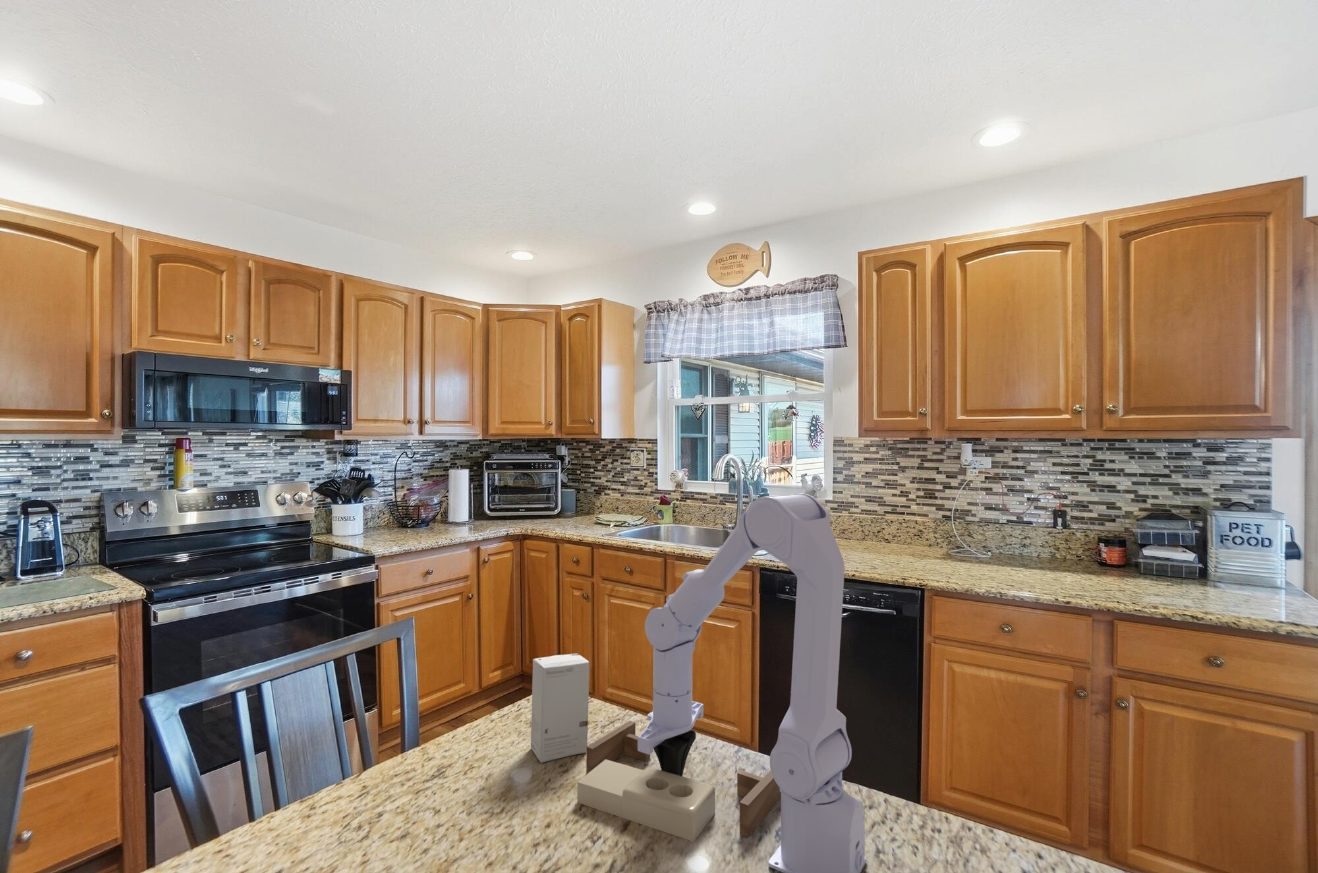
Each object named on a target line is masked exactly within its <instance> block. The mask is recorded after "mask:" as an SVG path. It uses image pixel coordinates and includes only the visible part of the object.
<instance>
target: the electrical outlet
mask: <svg viewBox="0 0 1318 873" xmlns="http://www.w3.org/2000/svg"><path fill="white" fill-rule="evenodd" d="M576 787H577V791H576V792H577V797H576V798H577V799H576V800H577V802H576V803H578V804H581V805H584V806H586V807H590V808H593V809H594V810H595V809H596V810H597V811H598V810H599V811H602V812H604V813H608V814H611V815H614V816H617V817H620V818H622V819H626V820H629V821H632V822H635V823H637V824H641V825H644V826H645V827H648V828H653V829H655V830H658V831H661V832H663V833H667V834H670V835H673V836H675V837H679V838H681V839H685V840H688V841H690V842H694V841H696V840H697V838H698V836H700V834H701V833H702V832H703V830H704V828H706V826H707V825H708V824H709V822H710V820H712V819H713V817H714V816H715V814H716V788H715V786H714V785H713V784H710V783H706V782H704V781H700V780H696V779H693V778H689V777H687V776H679V775H676V774H672V773H669V772H665V771H662V770H661V769H658V768H654V767H650V766H648V767H645V769H644V770H643V769H640V768H636V767H633V766H629V765H626V764H623V763H620V762H616V761H609V760H606V759H605V760H604V761H603V762H602V763H600V764H599V765H598V766H597V767H595V768H594V769H593V770H592V771H591V772H589V773H588V774H587V773H586V774H585V775H584V776H583V777H582V778H580V779H579V780H578V781H577V786H576Z"/></svg>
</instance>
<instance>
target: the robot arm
mask: <svg viewBox="0 0 1318 873" xmlns="http://www.w3.org/2000/svg"><path fill="white" fill-rule="evenodd" d="M760 550H763V551H765V552H767V553H768V554H770V555H771V556H773V557H774V558H776V559H777V560H779V561H780V562H782V563H783V564H784V565H786V566H787V567H788V569H789V570H790V571H791V572H792V573H793V574H794V575H795V577H796V579H797V580H796V583H797V584H796V592H795V594H796V597H795V598H796V599H795V614H794V616H795V617H794V631H793V632H794V633H793V651H792V668H791V683H790V684H791V687H790V702H789V703H790V704H789V707H788V709H787V711H786V713H785V715H784V717H783V719H782V722H781V723H780V726H779V728H778V735H777V741H776V743H775V745H774V747H773V749H772V750H771V752H770V756H769V768H770V770H771V773H772V775H773V778H774V780H775V782H776V783H777V785H778V786H779V787H780V792H781V799H780V844H779V846H778V848H777V849H776V850H775V851H774V853H773V855H772V856H770V858H769V860H768V862H767V863H768V864H767V865H768V866H769V867H770V868H772V869H774V870H777V871H779V872H781V873H861V872H862V871H863V869H864V866H865V865H866V863H867V856H866V855H865V851H866V848H865V847H866V846H865V844H866V843H865V841H866V840H865V839H866V838H865V834H866V833H865V832H866V830H865V829H866V828H865V821H866V819H865V816H866V815H865V807H864V803H863V801H862V800H860V799H858V798H856V797H854V796H852V795H851V794H849V793H848V792H847V791H846V790H844V788H843V771H844V770H845V769H846V768H847V767H848V766H849V764H850V762H851V760H852V755H853V754H852V753H853V752H852V751H853V750H852V749H853V748H852V744H851V742H850V739H849V737H848V732H847V717H846V716H845V715H844V714H843V713H842V712H841V711H840V710H839V709H838V708H837V704H838V702H837V701H838V687H839V670H840V655H841V654H840V652H841V651H840V650H841V638H842V637H841V635H842V634H841V633H842V618H843V617H842V616H843V603H844V602H843V601H844V584H845V561H844V558H843V556H842V553H841V550H840V547H839V545H838V542H837V540H836V538H835V535H834V532H833V530H832V527H831V513H830V511H828V509H826V507H824V505H823V504H821V503H820V501H819V500H817V499H816V498H815V497H814V496H813V495H811V494H808V493H804V492H801V493H800V492H797V493H794V494H791V495H789V494H788V495H781V496H761V497H758V498H756V499H755V500H753V501H752V502H751V503H750V504H749V506H748V507H747V509H746V510H745V511H744V512H742V513H741V514H740V515H739V516H738V518H737V523H736V526H735V527H734V528H733V530H732V531H731V533H730V534H729V536H727V538H726V540H725V541H724V542H723V544H722V545H721V546H720V548H719V549H718V550H717V551H716V552H715V555H714V556H713V557H712V559H711V560H710V562H709V563H708V564H707V565H706V567H705V568H704V569H700V568H697V569H694V570H691V571H686V572H685V573H684V574H683V576H682V577H681V579H682V580H683V582H682V583H681V584H680V585H679V587H678V588H677V589H676V590H675V592H674V593H672V594H669V595H668V596H667V597H666V599H665V601H666V603H664V605H663V607H654V608H652V609H650V610H649V612H648V615H647V616H646V619H645V621H644V632H645V635H646V638H647V640H648V642H649V644H650V645H651V646H652V650H653V653H652V659H653V660H652V661H653V662H652V667H653V668H652V670H653V671H652V674H653V675H652V688H653V689H652V711H650V712H649V713H648V714H647V715H646V716H647V719H646V720H648V721H649V722H648V723H647V725H646V727H645V729H644V730H643V732H642V733H641V734H640V735H637V736H638V751H640V752H643V753H646V754H649V755H650V756H651V755H652V753H655V755H656V758H657V760H658V764H659V766H660V770H662V771H665V772H669V773H672V774H676V775H679V776H683V775H684V771H685V766H686V762H687V759H688V755H689V753H690V750H691V748H692V746H693V744H694V742H695V741H696V737H697V733H696V731H695V730H692V729H693V728H694V726H695V724H696V721H697V719H702V718H703V717H704V703H702V702H698V701H694V700H693V654H694V652H695V650H696V642H697V640H698V638H699V636H700V635H701V632H702V624H703V623H704V622H705V621H706V620H707V619H708V617H709V616H710V615H711V614H712V613H713V612H714V610H716V608H718V606H719V605H720V604H721V603H722V602H723V601H724V599H725V594H726V592H725V586H726V584H727V583H728V582H729V581H730V580H731V579H732V578H733V577H734V576H735V575H736V573H737V572H739V571H740V569H742V568H743V567H744V566H745V565H746V564H747V563H748V562H749V561H750V559H752V558H753V557H754V555H756V554H757V552H758V551H760ZM683 777H684V776H683Z"/></svg>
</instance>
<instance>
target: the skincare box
mask: <svg viewBox="0 0 1318 873" xmlns="http://www.w3.org/2000/svg"><path fill="white" fill-rule="evenodd" d="M531 681H532V684H531V687H532V688H531V718H530V719H531V722H530V723H531V724H530V725H531V726H530V727H531V728H530V749H531V750H532V752H533V753H534V754H535V756H536V759H537V760H538V761H539V763H541V764H542V763H547V762H550V761H553V760H557V759H561V758H565V757H569V756H574V755H581V754H585V753H586V754H587V746H588V735H589V734H588V733H589V732H588V729H589V727H588V726H589V695H590V694H589V692H590V691H589V690H590V661H589V660H587V659H586V658H585V657H584V656H582V655H581V654H579V653H570V654H569V653H568V654H557V655H556V654H555V655H551V656H544V657H537V658H533V659H532V680H531Z"/></svg>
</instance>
